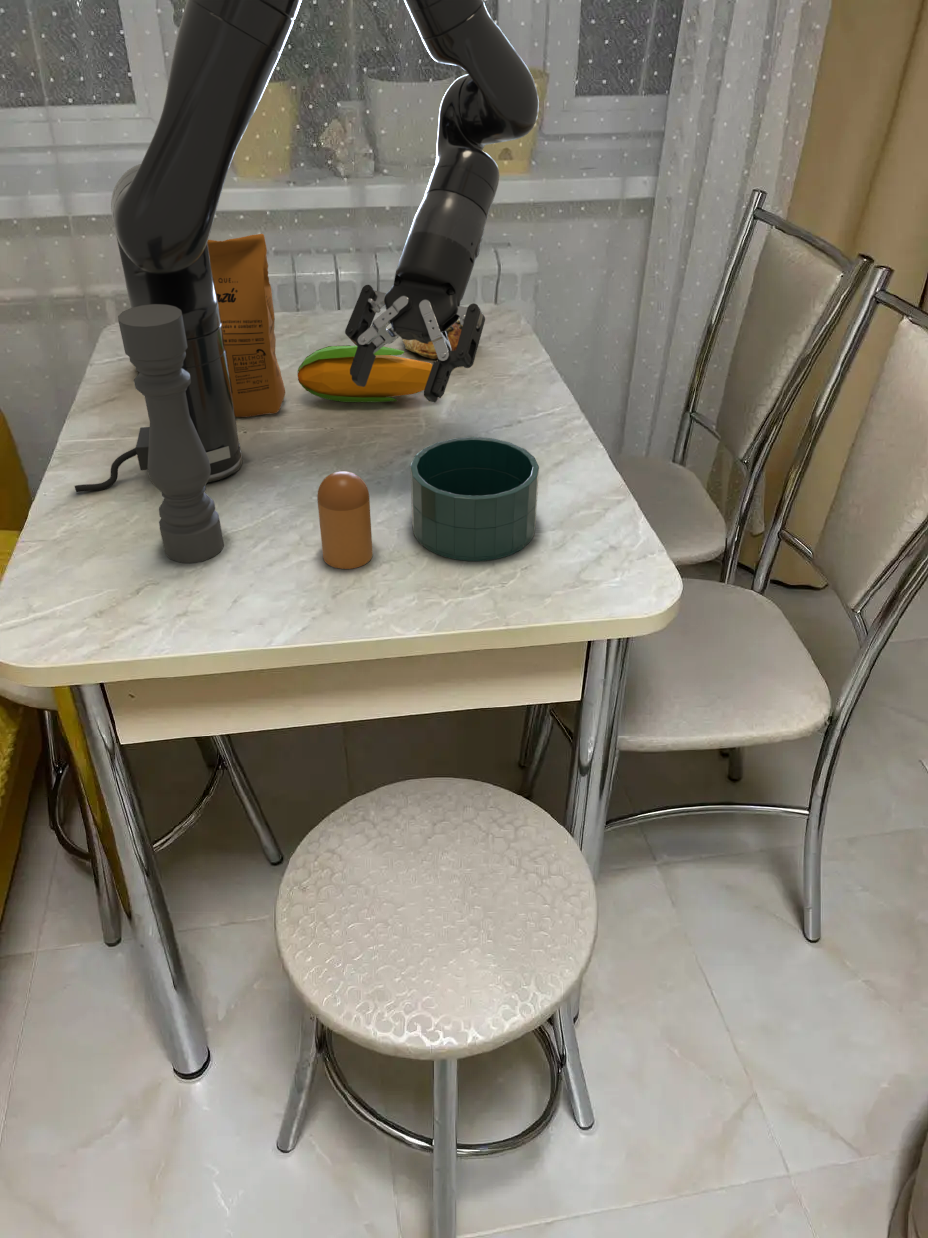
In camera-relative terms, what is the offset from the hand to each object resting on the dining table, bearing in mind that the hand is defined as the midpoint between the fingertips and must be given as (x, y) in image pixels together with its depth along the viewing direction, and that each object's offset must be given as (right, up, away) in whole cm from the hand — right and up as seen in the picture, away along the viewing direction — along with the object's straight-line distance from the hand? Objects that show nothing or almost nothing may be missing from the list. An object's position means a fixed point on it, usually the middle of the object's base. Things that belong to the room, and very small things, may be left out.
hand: (393, 391), depth 102 cm
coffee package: (-23, +5, +30) cm, 38 cm away
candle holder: (-21, -16, +2) cm, 27 cm away
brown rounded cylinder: (-5, -17, +1) cm, 18 cm away
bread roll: (+3, +17, +46) cm, 50 cm away
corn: (-5, +6, +31) cm, 32 cm away
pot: (+8, -14, +5) cm, 17 cm away
